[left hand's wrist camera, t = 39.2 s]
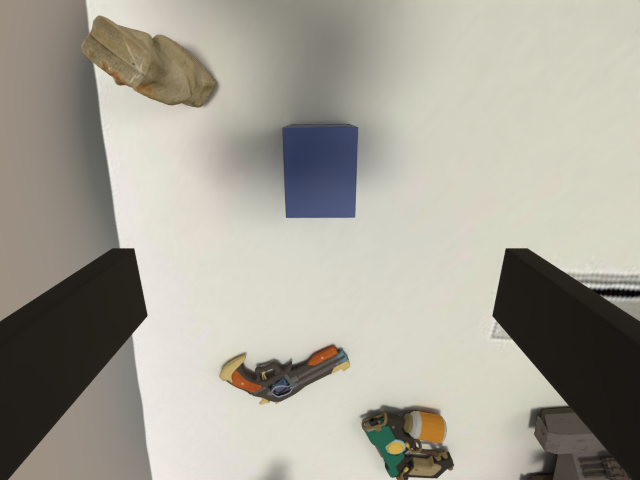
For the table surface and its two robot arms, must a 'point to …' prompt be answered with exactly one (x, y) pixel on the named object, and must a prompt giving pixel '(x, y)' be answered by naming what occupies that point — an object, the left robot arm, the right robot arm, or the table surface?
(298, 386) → the toy gun
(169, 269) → the table surface
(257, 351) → the table surface
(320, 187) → the brick
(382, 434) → the spray gun
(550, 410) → the toy
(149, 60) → the sculpture
